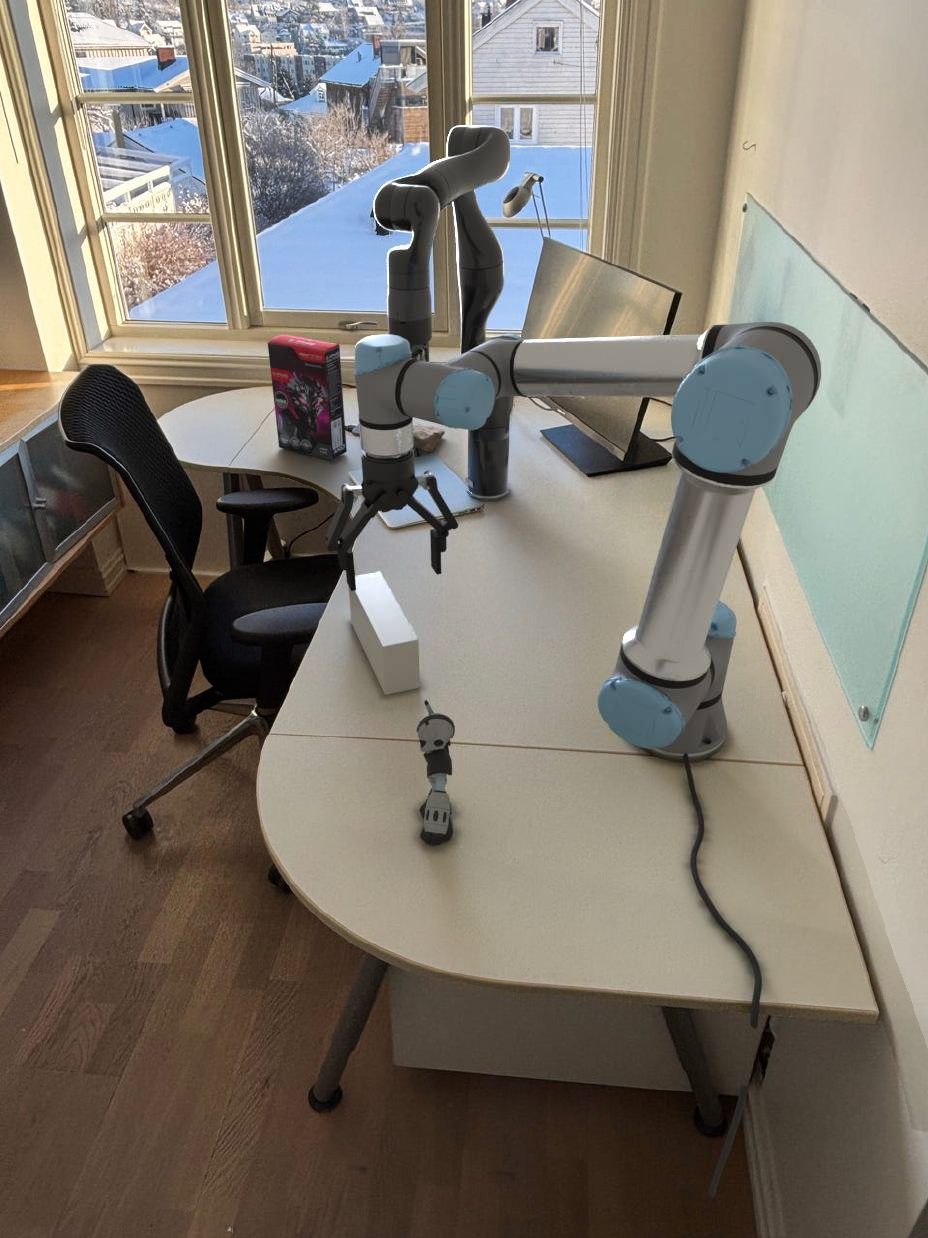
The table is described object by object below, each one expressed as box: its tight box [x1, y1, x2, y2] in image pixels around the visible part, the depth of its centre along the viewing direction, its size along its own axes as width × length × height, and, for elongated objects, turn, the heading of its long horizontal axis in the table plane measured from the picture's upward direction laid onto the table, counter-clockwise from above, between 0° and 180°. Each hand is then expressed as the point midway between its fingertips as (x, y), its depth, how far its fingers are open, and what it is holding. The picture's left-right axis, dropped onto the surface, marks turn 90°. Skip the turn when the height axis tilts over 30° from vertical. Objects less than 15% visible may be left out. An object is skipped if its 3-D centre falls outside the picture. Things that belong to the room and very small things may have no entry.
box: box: [348, 571, 421, 696], centre depth 157 cm, size 22×6×10 cm, turn 20°
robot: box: [415, 699, 456, 846], centre depth 121 cm, size 20×5×20 cm, turn 3°
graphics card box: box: [267, 333, 348, 461], centre depth 223 cm, size 17×7×27 cm, turn 62°
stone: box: [413, 422, 446, 453], centre depth 234 cm, size 21×15×6 cm
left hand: (411, 403), depth 167 cm, fingers open, 8 cm apart
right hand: (394, 578), depth 142 cm, fingers open, 13 cm apart
